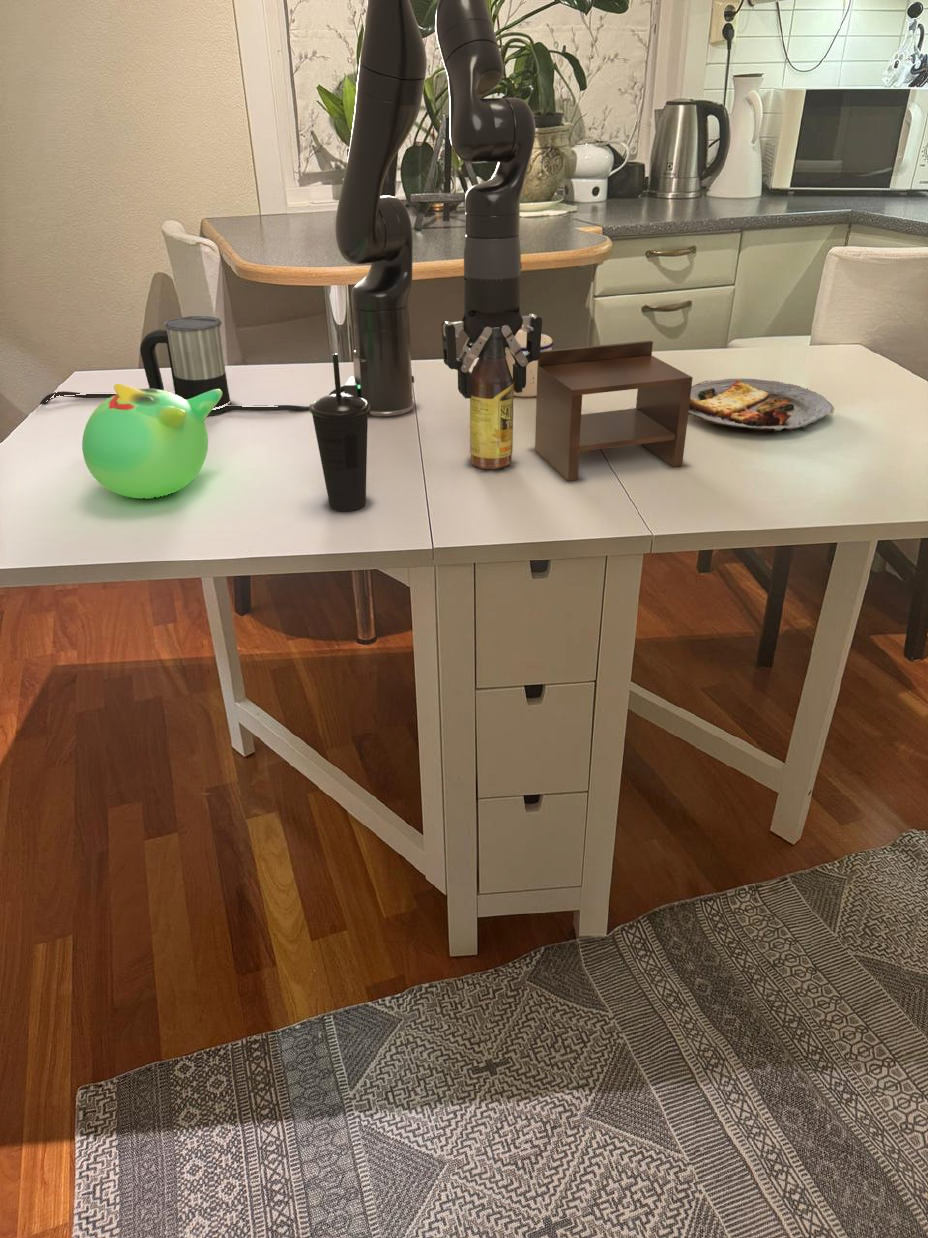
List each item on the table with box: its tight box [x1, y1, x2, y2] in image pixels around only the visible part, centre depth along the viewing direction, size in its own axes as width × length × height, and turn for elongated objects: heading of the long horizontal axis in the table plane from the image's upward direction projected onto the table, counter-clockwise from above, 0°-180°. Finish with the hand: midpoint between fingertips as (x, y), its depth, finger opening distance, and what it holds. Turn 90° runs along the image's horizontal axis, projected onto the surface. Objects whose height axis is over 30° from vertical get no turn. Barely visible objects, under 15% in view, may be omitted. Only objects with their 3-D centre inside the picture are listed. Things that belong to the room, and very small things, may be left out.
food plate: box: [688, 377, 835, 432], centre depth 151 cm, size 25×23×4 cm
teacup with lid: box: [505, 324, 554, 398], centre depth 162 cm, size 12×9×12 cm
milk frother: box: [139, 315, 233, 417], centre depth 151 cm, size 14×16×15 cm
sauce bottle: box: [469, 327, 514, 470], centre depth 129 cm, size 6×6×20 cm
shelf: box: [534, 340, 694, 482], centre depth 132 cm, size 18×13×15 cm
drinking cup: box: [308, 353, 370, 513], centre depth 117 cm, size 8×8×20 cm
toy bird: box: [81, 383, 222, 499], centre depth 123 cm, size 18×17×15 cm
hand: (491, 393), depth 129 cm, fingers open, 7 cm apart
